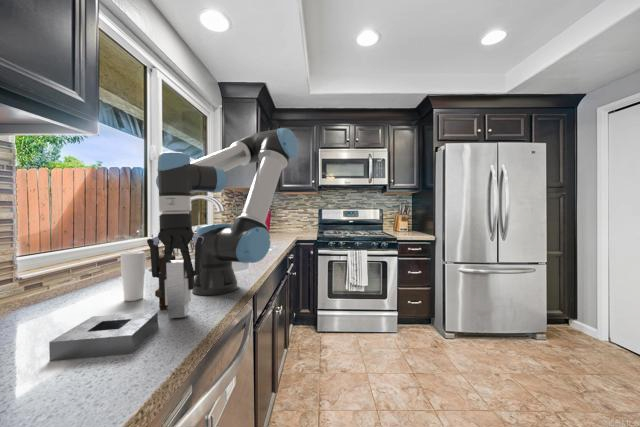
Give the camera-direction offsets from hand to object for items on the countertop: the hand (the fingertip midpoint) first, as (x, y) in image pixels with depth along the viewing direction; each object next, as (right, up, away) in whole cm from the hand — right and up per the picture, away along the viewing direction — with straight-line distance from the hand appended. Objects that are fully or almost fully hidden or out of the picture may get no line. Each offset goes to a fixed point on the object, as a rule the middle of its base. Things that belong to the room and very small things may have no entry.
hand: (178, 302), depth 77 cm
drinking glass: (-23, -4, +18) cm, 29 cm away
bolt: (-8, -4, +8) cm, 12 cm away
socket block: (-8, -4, -14) cm, 16 cm away
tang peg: (0, -3, 0) cm, 3 cm away
